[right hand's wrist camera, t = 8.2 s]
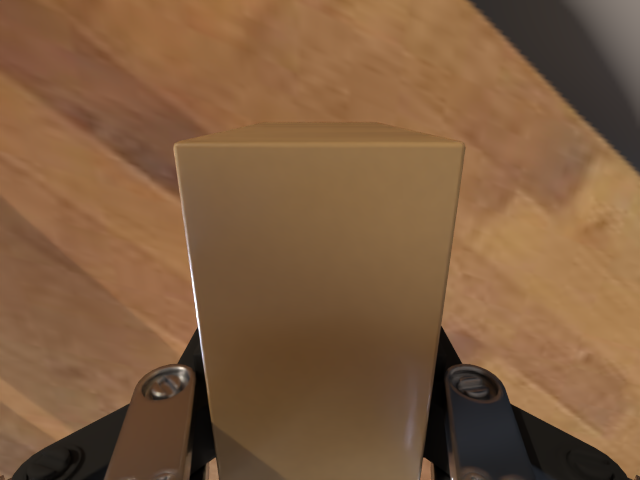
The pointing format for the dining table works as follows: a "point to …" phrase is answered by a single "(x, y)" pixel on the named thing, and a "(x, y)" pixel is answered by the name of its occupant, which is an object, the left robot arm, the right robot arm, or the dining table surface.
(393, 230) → the post
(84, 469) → the right robot arm
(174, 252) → the dining table surface
